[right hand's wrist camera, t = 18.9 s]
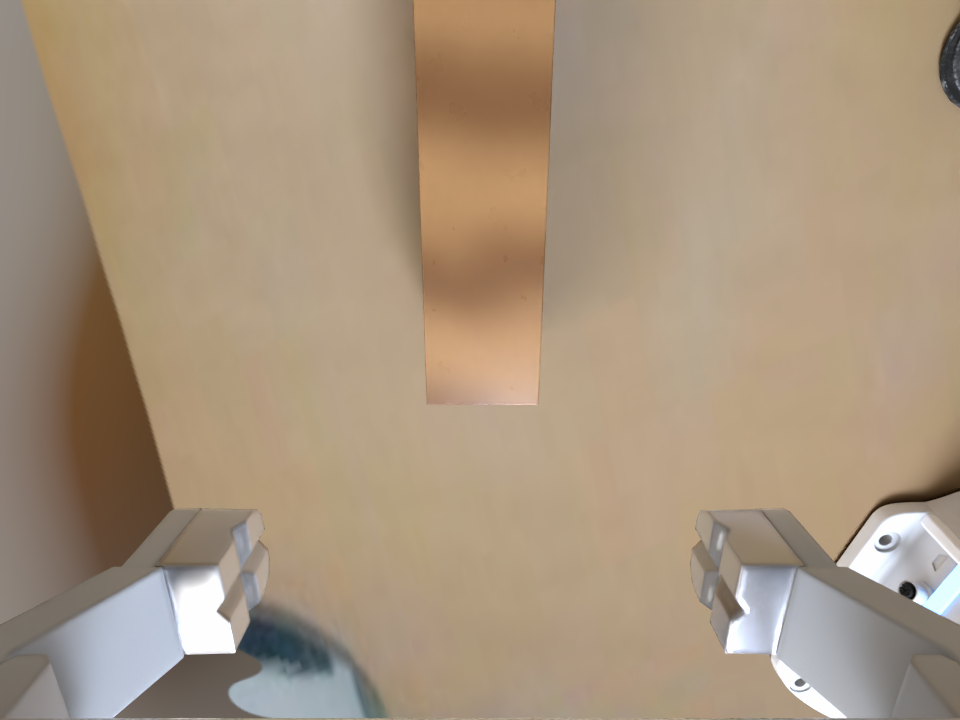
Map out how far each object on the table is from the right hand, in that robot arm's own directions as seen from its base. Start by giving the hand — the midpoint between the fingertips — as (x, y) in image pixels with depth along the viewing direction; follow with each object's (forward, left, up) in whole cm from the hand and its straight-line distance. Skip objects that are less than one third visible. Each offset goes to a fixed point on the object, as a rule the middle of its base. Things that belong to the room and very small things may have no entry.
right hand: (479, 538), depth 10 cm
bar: (+7, +4, -23) cm, 24 cm away
